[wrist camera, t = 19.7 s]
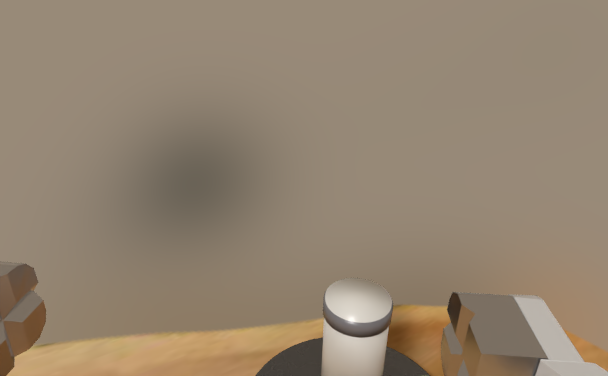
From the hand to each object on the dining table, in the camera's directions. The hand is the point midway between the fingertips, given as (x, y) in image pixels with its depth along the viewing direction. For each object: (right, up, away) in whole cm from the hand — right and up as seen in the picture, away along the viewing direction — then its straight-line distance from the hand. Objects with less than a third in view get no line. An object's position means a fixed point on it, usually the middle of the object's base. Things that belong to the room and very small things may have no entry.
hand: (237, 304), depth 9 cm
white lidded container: (+5, -17, +28) cm, 33 cm away
